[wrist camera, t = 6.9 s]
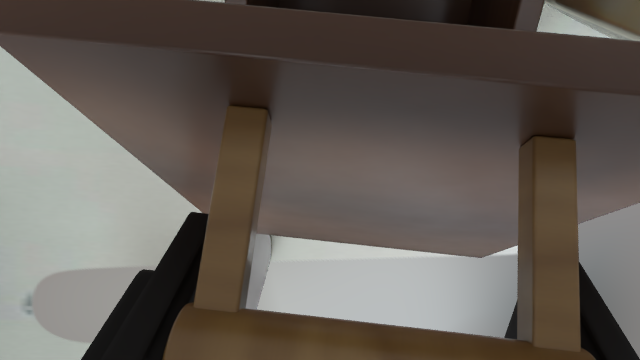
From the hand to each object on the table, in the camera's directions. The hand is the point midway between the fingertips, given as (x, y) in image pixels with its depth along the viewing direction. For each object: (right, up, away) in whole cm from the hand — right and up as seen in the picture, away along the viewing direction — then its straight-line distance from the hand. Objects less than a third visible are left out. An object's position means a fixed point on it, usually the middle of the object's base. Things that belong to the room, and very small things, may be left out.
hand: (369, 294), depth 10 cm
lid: (0, +2, +4) cm, 5 cm away
